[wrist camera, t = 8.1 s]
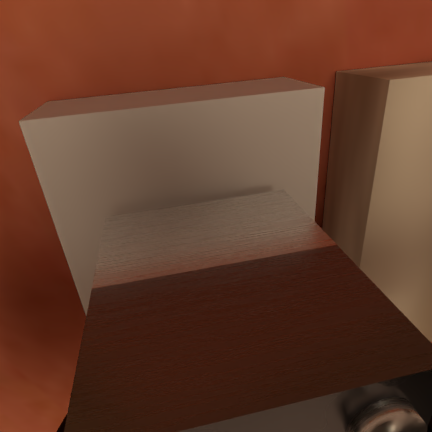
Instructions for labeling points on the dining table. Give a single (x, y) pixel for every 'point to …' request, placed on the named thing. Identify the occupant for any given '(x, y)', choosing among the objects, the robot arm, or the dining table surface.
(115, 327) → the housing
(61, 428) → the robot arm
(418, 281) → the stand
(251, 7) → the dining table surface
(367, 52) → the dining table surface
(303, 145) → the stand
